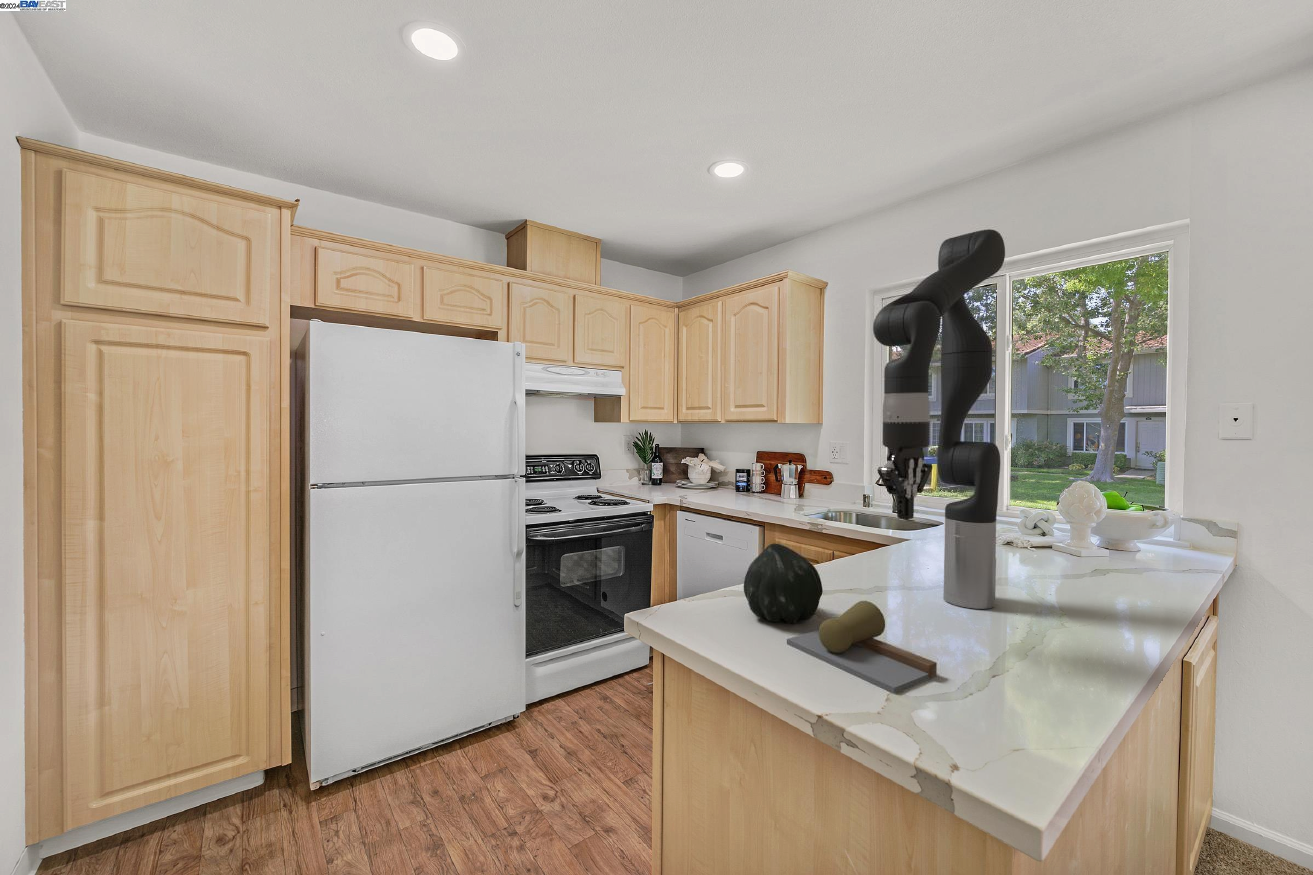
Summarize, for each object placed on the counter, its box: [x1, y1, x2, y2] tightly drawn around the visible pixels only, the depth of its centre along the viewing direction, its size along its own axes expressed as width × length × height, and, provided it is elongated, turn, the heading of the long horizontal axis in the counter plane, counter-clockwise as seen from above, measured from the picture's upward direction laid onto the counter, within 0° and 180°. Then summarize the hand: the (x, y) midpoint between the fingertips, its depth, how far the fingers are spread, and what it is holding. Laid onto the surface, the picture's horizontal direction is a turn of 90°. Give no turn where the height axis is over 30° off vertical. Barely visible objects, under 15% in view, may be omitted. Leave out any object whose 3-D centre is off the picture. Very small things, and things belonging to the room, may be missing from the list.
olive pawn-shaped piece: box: [818, 600, 886, 653], centre depth 89 cm, size 6×6×11 cm
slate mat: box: [786, 629, 929, 694], centre depth 86 cm, size 8×20×1 cm, turn 32°
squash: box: [743, 542, 824, 624], centre depth 105 cm, size 14×15×15 cm
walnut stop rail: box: [819, 621, 938, 680], centre depth 89 cm, size 2×20×2 cm, turn 32°
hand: (905, 518), depth 97 cm, fingers closed
